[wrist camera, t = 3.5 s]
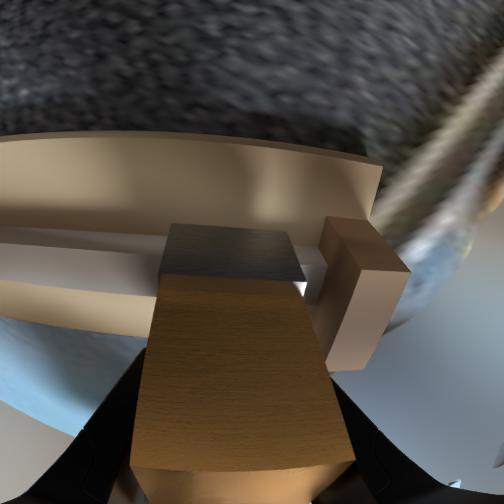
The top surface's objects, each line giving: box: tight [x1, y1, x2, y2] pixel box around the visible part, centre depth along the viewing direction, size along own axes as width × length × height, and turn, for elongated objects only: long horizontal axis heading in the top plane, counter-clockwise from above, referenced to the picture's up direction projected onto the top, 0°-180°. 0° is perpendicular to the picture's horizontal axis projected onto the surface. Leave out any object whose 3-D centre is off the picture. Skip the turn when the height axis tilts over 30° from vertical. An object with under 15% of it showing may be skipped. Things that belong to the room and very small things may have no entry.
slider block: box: [130, 223, 356, 504], centre depth 9 cm, size 5×4×8 cm
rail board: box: [0, 130, 411, 372], centre depth 12 cm, size 10×24×6 cm, turn 82°
